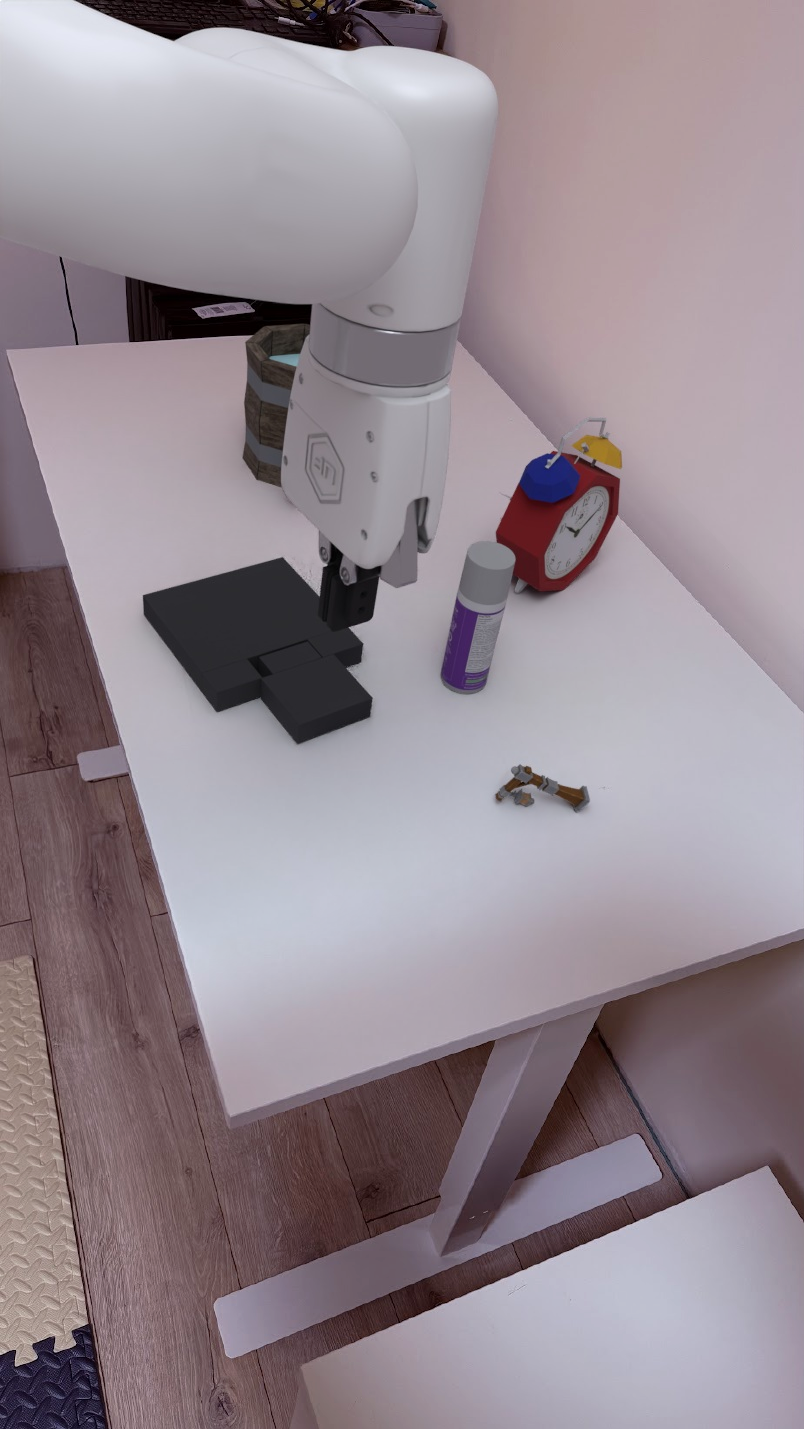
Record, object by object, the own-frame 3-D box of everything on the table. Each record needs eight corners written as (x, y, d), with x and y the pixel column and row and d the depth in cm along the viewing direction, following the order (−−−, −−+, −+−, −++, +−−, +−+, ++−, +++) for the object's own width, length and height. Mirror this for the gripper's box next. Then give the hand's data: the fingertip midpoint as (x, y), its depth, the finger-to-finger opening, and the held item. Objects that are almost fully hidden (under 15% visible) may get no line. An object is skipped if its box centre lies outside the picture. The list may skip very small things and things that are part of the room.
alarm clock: (525, 615, 111) (569, 451, 97) (466, 577, 115) (500, 413, 101) (602, 568, 119) (652, 411, 106) (545, 534, 123) (586, 378, 110)
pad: (297, 744, 92) (298, 725, 90) (246, 680, 97) (246, 660, 96) (370, 717, 96) (373, 697, 94) (317, 656, 101) (319, 637, 100)
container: (432, 667, 102) (457, 544, 92) (472, 659, 104) (501, 537, 94) (453, 698, 99) (481, 573, 89) (494, 688, 101) (526, 565, 91)
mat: (216, 712, 94) (216, 692, 92) (143, 614, 102) (142, 594, 101) (361, 662, 101) (363, 643, 100) (281, 575, 110) (282, 556, 108)
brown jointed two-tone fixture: (486, 786, 90) (515, 755, 87) (557, 813, 93) (588, 784, 91) (488, 801, 89) (518, 770, 86) (560, 828, 92) (591, 799, 89)
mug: (245, 431, 132) (248, 317, 121) (348, 440, 133) (360, 329, 123) (236, 514, 118) (238, 393, 107) (352, 523, 119) (365, 405, 109)
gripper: (247, 287, 54) (235, 569, 66) (407, 415, 46) (360, 709, 58) (363, 275, 58) (332, 544, 70) (530, 391, 50) (461, 672, 62)
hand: (345, 618), depth 64 cm, fingers closed
